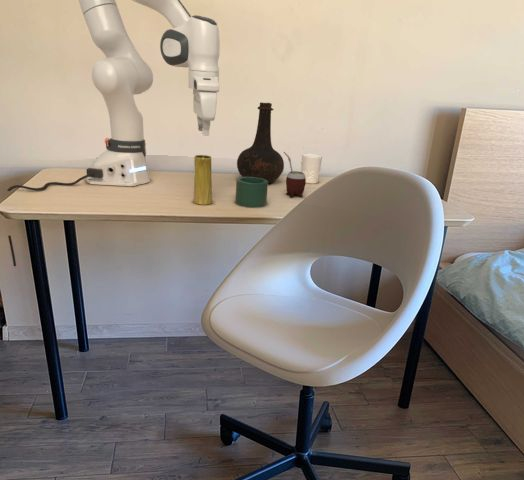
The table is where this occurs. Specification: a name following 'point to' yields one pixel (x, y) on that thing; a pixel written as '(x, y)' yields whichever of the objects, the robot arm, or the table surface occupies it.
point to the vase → (202, 180)
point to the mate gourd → (295, 182)
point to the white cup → (311, 167)
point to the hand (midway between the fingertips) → (203, 133)
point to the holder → (251, 191)
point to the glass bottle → (261, 151)
